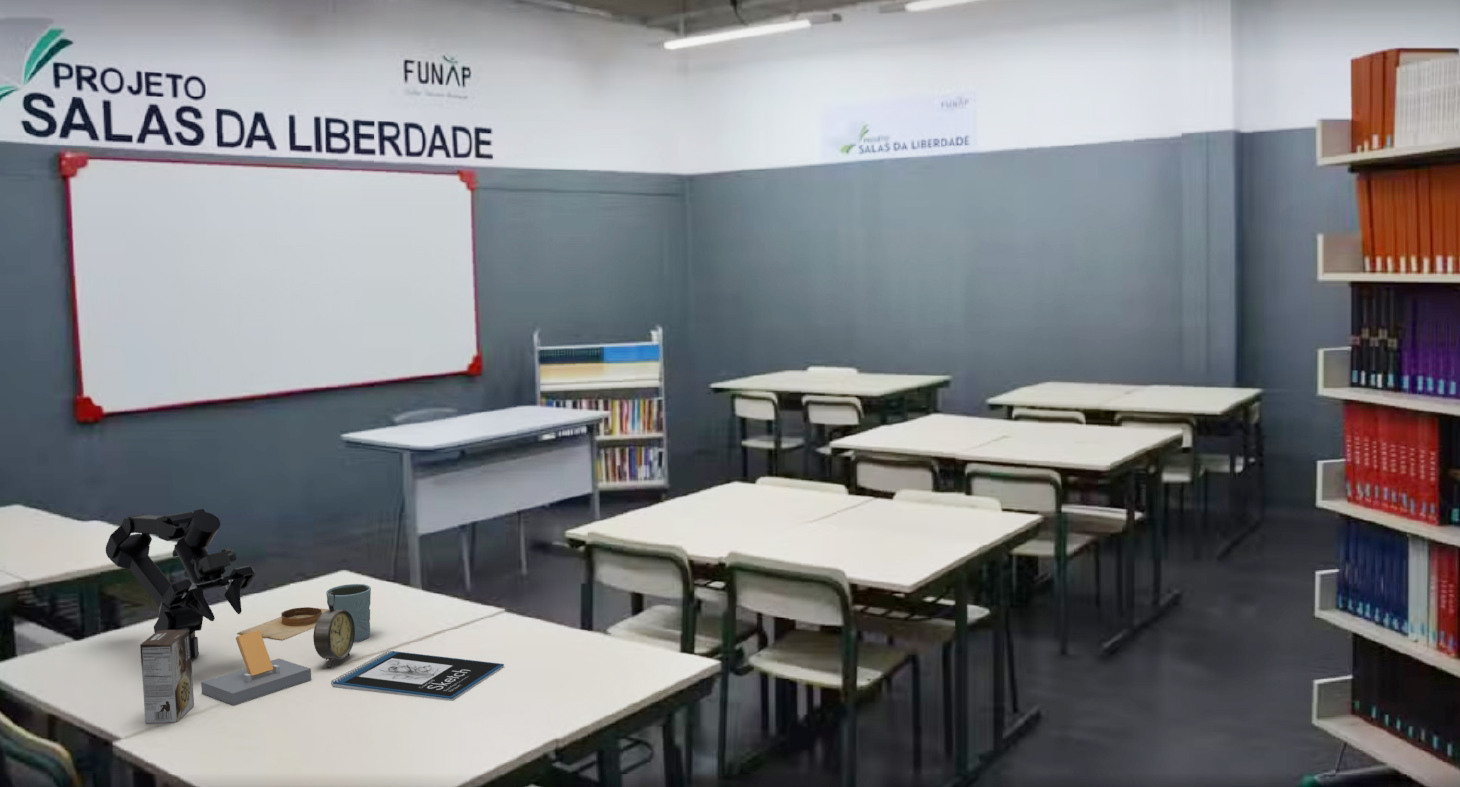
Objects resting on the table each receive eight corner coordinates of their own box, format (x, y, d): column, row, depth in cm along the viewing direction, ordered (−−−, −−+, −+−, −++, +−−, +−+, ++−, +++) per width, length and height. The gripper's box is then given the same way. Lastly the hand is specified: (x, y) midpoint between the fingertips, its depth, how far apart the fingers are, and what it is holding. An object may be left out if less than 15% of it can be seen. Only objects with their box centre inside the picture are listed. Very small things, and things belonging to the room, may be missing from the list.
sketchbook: (452, 704, 234) (451, 694, 234) (328, 689, 243) (328, 680, 243) (504, 669, 255) (503, 660, 254) (388, 656, 264) (387, 648, 264)
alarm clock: (332, 670, 253) (328, 599, 252) (310, 669, 254) (306, 598, 253) (357, 654, 264) (354, 586, 262) (336, 653, 265) (333, 585, 263)
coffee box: (162, 706, 233) (157, 629, 231) (195, 705, 233) (190, 628, 232) (143, 724, 224) (138, 644, 222) (177, 722, 224) (172, 642, 223)
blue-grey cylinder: (381, 635, 278) (379, 587, 277) (347, 646, 270) (345, 597, 269) (353, 629, 284) (351, 581, 283) (319, 640, 275) (317, 591, 274)
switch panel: (201, 693, 240) (200, 675, 240) (279, 669, 255) (278, 651, 254) (233, 705, 233) (232, 686, 233) (311, 679, 248) (310, 661, 247)
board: (307, 609, 304) (306, 597, 303) (353, 614, 298) (353, 602, 298) (235, 637, 281) (234, 624, 280) (284, 643, 275) (283, 630, 275)
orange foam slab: (249, 677, 241) (235, 638, 243) (270, 670, 245) (257, 631, 247) (251, 675, 240) (237, 636, 242) (273, 669, 244) (259, 630, 246)
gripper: (167, 546, 243) (198, 605, 237) (248, 530, 258) (279, 585, 252) (150, 577, 248) (180, 635, 243) (231, 559, 263) (260, 614, 258)
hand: (226, 616), depth 249 cm, fingers open, 6 cm apart
